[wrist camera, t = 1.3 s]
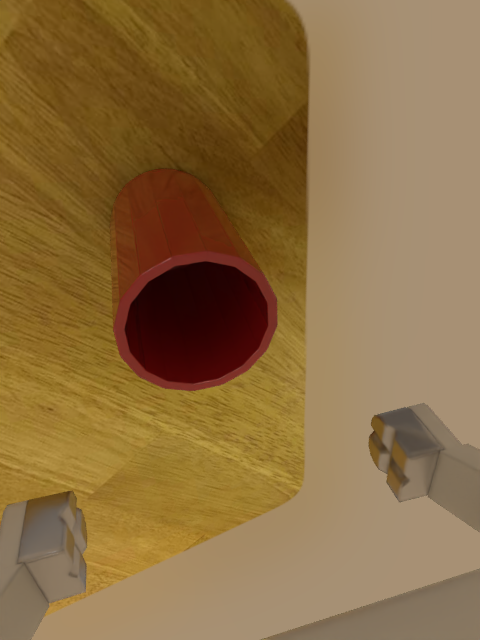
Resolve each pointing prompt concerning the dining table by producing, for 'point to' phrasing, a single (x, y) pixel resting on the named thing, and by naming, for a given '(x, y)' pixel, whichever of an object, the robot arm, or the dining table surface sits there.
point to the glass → (184, 285)
